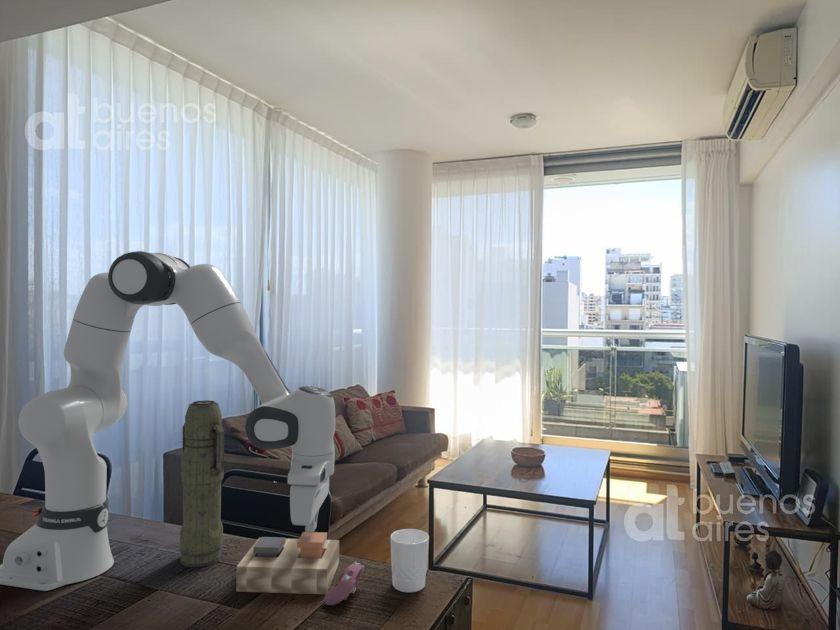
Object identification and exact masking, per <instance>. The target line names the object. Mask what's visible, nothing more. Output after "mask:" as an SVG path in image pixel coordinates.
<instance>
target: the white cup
mask: <svg viewBox="0 0 840 630" xmlns="http://www.w3.org/2000/svg"><path fill="white" fill-rule="evenodd" d="M429 541H430V535H429V534H428V533H427V532H426V531H424V530H421V529H416V528H403V529H398V530H395V531H393V532H392V533H391V534H390V559H391V560H390V561H391V562H390V563H391V572H392V574H391V575H392V578H391V579H392V586H393V587H394V589H395V590H397V591H399V592H402V593H416V592H419V591H421V590H423V589H424V588H425V587H426V576H427V572H428V570H427V569H428V560H429V558H428V557H429V544H430V542H429Z"/></svg>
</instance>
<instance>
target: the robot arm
mask: <svg viewBox="0 0 840 630" xmlns="http://www.w3.org/2000/svg"><path fill="white" fill-rule="evenodd" d="M163 305H165V306H173V305H178V306H179V307H180V308H181V310H182V311H183V312H184V314H185V316H186V318H187V321H188V322H189V325H190V326H191V328H192V330H193V333H194V334H195V337H196V338H197V339H198V341H199V342H200V343H201V345H202V346H203V348H205V349H206V351H207V352H208V353H210V354H211V355H214V356H216V357H219V358H221V359H224V360H226V361H228V362H231V363H233V364H234V365H235V366H237V367H238V368H239V369H240V370H241V371H242V373H244V375H245V376H246V378H247V380H248V381H249V383H250V385H251V387H252V388H253V390H254V391H255V394H256V395H257V397H258V398H259V400H260V401H259V402H260V405H258V406H257V407H255V408H254V409H253V410H251V412H249V414H248V416H247V418H246V421H245V427H244V428H245V429H244V430H245V434H246V437H247V439H248V441H249V442H250V443H251V444H252V445H253V446H254V447H255V448H258V449H261V450H263V451H265V450H267V451H269V450H277V449H285V448H288V447H289V448H291V461H290V467H289V468H290V469H289V471H288V474H287V485H290V488H289V509H290V510H289V511H290V512H289V513H290V521H291V523H292V525H294V526H305V527H304V532H306V533H313V532H315V531H316V529H317V526H318V525H317V524H318V518H319V517H318V516H319V511H320V508H321V507H322V505H323V503H324V502H325V499H326V498H327V496H328V495H329V493H330V476H332V475H333V474H334V473H335V456H336V455H335V452H336V451H335V450H336V449H335V445H334V436H335V433H336V405H335V400H334V397H333V395H332V394H331V392H330V391H328V390H326V389H324V388H322V387H321V388H320V387H317V386H311V385H310V386H308V385H305V386H304V385H303V386H300V387H298V388H296V390H294V391H293V392H292V391H291V390H290V389H289V388H288V387H287V385H286V383H285V382H284V380H283V378H282V377H281V375H280V373H279V372H278V370H277V369H276V366H275V365H274V364H273V361H272V360H271V358H270V356H269V355H268V353H267V351H266V349H265V348H264V346H263V344H262V342H261V341H260V339H259V337H258V335H257V333H256V331H255V329H254V327H253V324H252V322H251V320H250V318H249V316H248V314H247V312H246V310H245V308H244V306H243V304H242V301H241V300H240V298H239V296H238V295H237V293H236V291H235V289H234V288H233V286H232V285H231V283H230V282H229V280H228V279H227V278H226V276H225V275H224V274H223V273H222V272H221V270H220V269H219V268H218V267H217V266H215V265H213V264H209V263H202V264H201V263H200V264H196V265H193V266H190V265H189V264H188V263H187V262H186V261H185V260H183V259H181V258H179V257H175V256H171V255H169V254H165V253H161V252H147V251H142V250H141V251H139V250H138V251H130V252H126V253H124V254H122V255H120V256H118V257H117V258H116V259H115V260H114V261H113V262H112V263H111V265H110V267H109V270H108V272H101V273H97V274H95V275H93V276H92V277H90V279H89V280H88V282H87V284H86V286H85V288H84V289H83V291H82V293H81V296H80V298H79V300H78V303H77V306H76V308H75V311H74V314H73V317H72V321H71V325H70V327H69V331H68V334H67V335H68V336H67V338H66V342H65V344H64V349H63V357H64V359H65V361H66V362H67V363H68V364H69V367H70V380H69V384H68V386H67V387H64V388H59V389H54V390H50V391H47V392H45V393H43V394H41V395H38V396H37V397H35V398H33V399H31V400H29V401H28V402H27V403H25V404H24V406H23V407H22V408H21V410H20V413H19V416H18V428H19V432H20V433H21V436H22V437H23V438H24V440H26V441H28V443H30V444H31V445H33V446H34V447H35V448H36V451H38V454H39V456H40V459H41V462H42V466H43V469H44V470H43V471H44V482H45V483H44V484H45V485H44V487H45V488H44V489H45V490H44V492H45V495H44V498H45V500H44V501H45V503H44V505H42V506H40V507H39V508H38V509H37V510H34V511H33V512H31V514H33V515H32V516H31V518H36V517H37V516H38V519H37V520H36V523H35V524H34V525H33V526H31V527H30V528H29V529H27V530H26V531H25V532H22V534H21V535H19V536H18V537H16V538H15V539H14V540H13V541H12V542H11V543H10V544H9V545H8V546H7V548H6V549H5V552H4V556H3V561H2V564H0V585H4V586H9V587H16V588H22V589H29V590H30V589H31V590H34V591H35V590H36V591H42V592H47V591H51V590H54V589H57V588H61V587H63V586H66V585H69V584H70V585H71V584H74V583H75V584H76V583H80V582H83V581H86V580H90V579H92V578H95V577H97V576H100V575H102V574H104V573H105V572H107V571H108V570H109V569H111V568H112V566H113V565H114V563H115V559H114V557H113V554H112V550H111V546H110V541H109V534H108V533H109V532H108V522H109V507H110V506H109V498H108V497H107V477H108V476H107V474H108V473H107V462H106V460H104V458H102V457H101V456H99V455H98V453H97V450H96V447H95V444H94V434H96V433H99V432H102V431H104V430H106V429H108V428H110V427H112V426H114V424H116V423H117V422H118V421H119V420H121V418H123V417H124V415H125V413H126V411H127V408H128V398H127V395H126V394H125V391H124V390H123V388H122V370H123V369H122V368H123V362H124V357H125V354H126V351H127V346H128V342H129V339H130V335H131V332H132V329H133V325H134V321H135V317H136V315H137V313H138V311H139V310H140V309H141V308H142V307H143V306H150V307H151V306H152V307H156V306H159V307H160V306H163Z"/></svg>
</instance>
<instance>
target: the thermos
mask: <svg viewBox="0 0 840 630" xmlns="http://www.w3.org/2000/svg"><path fill="white" fill-rule="evenodd" d="M222 419H223V418H222V410H221V408H220V405H219V403H218V402H216V401H215V400H196V401H193V402H191V403H189V404H188V408H187V410H186V413H185V416H184V423H183V425H182V455H181V464H180V466H181V467H180V470H181V472H180V475H181V476H180V478H181V479H180V482H181V484H182V487H183V488H182V489H183V491H182V492H183V493H182V497H183V498H182V526H181V528H180V531H179V551H180V560H179V562H180V564H181V565H183V566H184V567H186V568H201V567H202V568H203V567H207V566H210V565H214V564H215V563H217V562H219V561H220V560H221V559H222V556H223V552H222V547H223V544H224V525H223V522H222V519H221V512H222V510H221V509H222V507H221V506H222V482H223V479H224V471H225V470H224V469H225V468H224V467H225V466H224V465H225V443H226V442H225V437H226V436H225V434H226V431H225V429H224V428H223V427H224V426H222Z"/></svg>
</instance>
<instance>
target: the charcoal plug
mask: <svg viewBox="0 0 840 630" xmlns="http://www.w3.org/2000/svg"><path fill="white" fill-rule="evenodd" d="M259 538H260V539H259V541H258V542H257V543H256V544H255V543H254V544H255V546H254V551H253V553H257V557H279V555H280V554H281V552H282V547H283V546H284V544H285V539H286V537H285V536H283V537H277V536H261V537H259Z"/></svg>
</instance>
